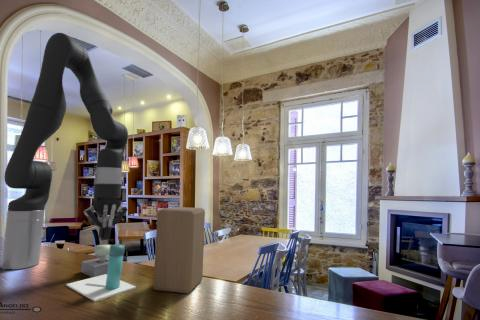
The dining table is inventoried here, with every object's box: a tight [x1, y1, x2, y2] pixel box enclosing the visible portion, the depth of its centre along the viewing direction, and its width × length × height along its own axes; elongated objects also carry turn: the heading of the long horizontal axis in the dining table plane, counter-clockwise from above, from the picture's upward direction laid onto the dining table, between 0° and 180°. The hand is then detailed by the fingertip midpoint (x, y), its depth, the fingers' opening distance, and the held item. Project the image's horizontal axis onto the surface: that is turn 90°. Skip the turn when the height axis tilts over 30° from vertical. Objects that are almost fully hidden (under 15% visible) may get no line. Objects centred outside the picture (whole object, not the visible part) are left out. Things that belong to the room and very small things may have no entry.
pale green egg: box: [94, 244, 112, 263], centre depth 77 cm, size 4×4×6 cm
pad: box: [66, 274, 137, 302], centre depth 65 cm, size 15×10×1 cm, turn 55°
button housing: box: [80, 255, 109, 278], centre depth 77 cm, size 8×8×3 cm
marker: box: [105, 243, 126, 290], centre depth 64 cm, size 3×3×10 cm
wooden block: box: [152, 206, 206, 294], centre depth 68 cm, size 10×10×20 cm
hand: (104, 239), depth 78 cm, fingers closed
